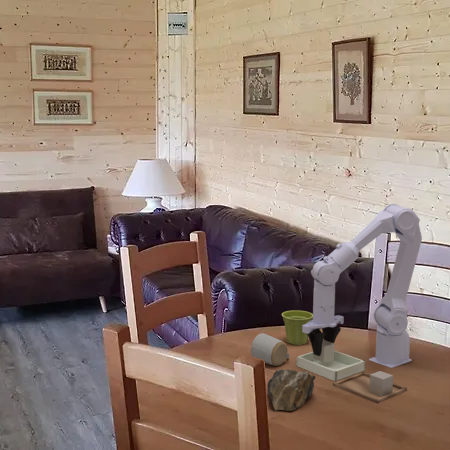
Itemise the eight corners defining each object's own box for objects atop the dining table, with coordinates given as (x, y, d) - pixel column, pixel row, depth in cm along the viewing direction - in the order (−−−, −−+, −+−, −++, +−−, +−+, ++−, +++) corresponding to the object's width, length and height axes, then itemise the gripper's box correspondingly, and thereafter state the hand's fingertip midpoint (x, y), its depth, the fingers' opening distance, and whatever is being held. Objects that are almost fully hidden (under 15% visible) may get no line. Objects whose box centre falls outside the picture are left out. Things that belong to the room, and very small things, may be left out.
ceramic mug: (272, 370, 192) (273, 343, 191) (249, 362, 197) (250, 336, 196) (296, 360, 199) (297, 334, 198) (273, 353, 205) (274, 328, 204)
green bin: (325, 357, 201) (326, 347, 201) (364, 371, 191) (365, 361, 190) (296, 367, 194) (296, 356, 193) (335, 382, 183) (335, 371, 183)
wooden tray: (363, 375, 188) (363, 371, 188) (407, 391, 178) (407, 388, 177) (332, 386, 181) (333, 383, 180) (376, 404, 170) (377, 400, 170)
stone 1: (323, 355, 197) (323, 339, 196) (333, 359, 194) (334, 343, 193) (313, 358, 194) (313, 342, 193) (324, 362, 191) (324, 346, 190)
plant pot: (278, 337, 218) (279, 310, 217) (308, 336, 219) (309, 309, 218) (284, 347, 209) (285, 319, 208) (315, 346, 210) (316, 318, 209)
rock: (289, 417, 164) (299, 375, 163) (249, 400, 169) (259, 360, 168) (314, 407, 176) (323, 368, 175) (275, 391, 182) (285, 354, 181)
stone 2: (379, 387, 179) (380, 370, 178) (392, 392, 176) (393, 375, 175) (369, 391, 177) (370, 374, 176) (382, 396, 174) (383, 379, 173)
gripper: (316, 313, 184) (315, 363, 186) (352, 303, 193) (351, 351, 196) (297, 307, 189) (295, 355, 192) (333, 298, 199) (331, 344, 201)
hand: (322, 353), depth 194 cm, fingers closed on stone 1, 4 cm apart
